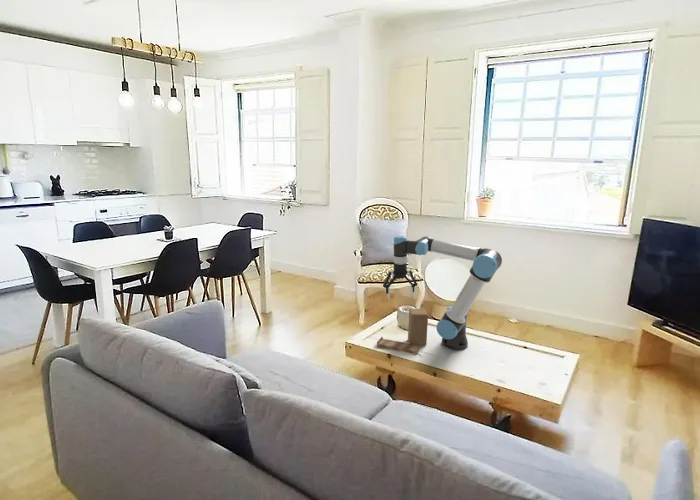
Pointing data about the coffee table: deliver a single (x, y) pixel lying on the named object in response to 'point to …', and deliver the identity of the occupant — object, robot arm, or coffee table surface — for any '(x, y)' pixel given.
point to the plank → (398, 346)
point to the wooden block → (417, 327)
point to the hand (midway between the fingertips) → (400, 298)
